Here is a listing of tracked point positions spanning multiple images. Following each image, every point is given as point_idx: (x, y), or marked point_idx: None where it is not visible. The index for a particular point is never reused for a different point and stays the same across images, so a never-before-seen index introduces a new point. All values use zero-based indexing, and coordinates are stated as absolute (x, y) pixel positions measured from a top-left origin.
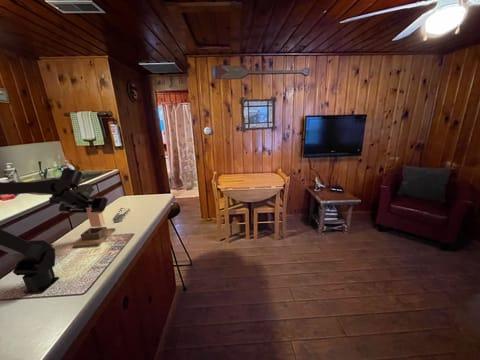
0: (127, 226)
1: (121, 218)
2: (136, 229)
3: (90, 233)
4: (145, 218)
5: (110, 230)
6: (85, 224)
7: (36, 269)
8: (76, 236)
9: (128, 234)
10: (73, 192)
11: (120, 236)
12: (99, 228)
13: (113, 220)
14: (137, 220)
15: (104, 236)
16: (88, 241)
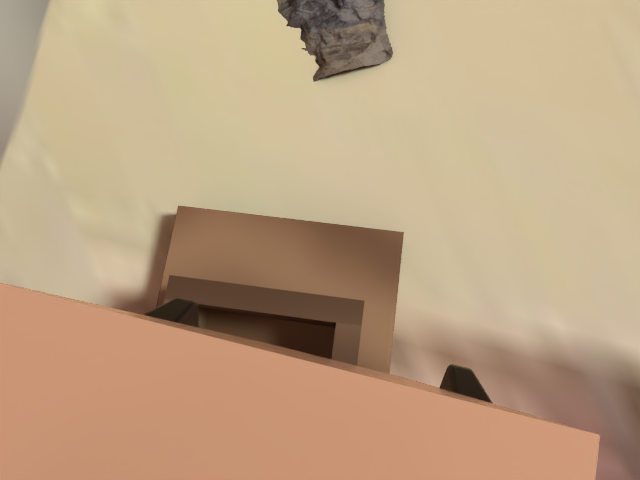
0: (498, 188)
1: (370, 10)
2: (633, 285)
3: None
4: (626, 54)
5: (377, 278)
6: (51, 39)
7: None
8: (59, 265)
9: (589, 378)
10: None
11: (516, 399)
12: (292, 316)
13: (294, 23)
14: (553, 79)
15: None
16: None
